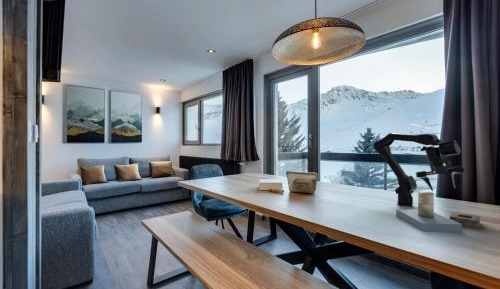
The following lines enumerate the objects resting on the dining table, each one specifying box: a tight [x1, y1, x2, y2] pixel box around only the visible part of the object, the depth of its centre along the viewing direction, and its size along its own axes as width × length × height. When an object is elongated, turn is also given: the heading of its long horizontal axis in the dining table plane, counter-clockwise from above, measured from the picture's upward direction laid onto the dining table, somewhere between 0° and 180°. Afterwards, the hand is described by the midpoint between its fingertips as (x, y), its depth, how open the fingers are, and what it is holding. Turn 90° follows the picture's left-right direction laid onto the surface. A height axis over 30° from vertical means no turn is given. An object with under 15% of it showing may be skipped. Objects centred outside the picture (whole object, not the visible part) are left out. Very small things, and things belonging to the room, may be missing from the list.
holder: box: [449, 211, 481, 230], centre depth 104 cm, size 9×9×3 cm
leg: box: [417, 190, 435, 218], centre depth 104 cm, size 6×6×13 cm
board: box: [395, 208, 463, 233], centre depth 104 cm, size 20×14×3 cm
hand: (443, 189), depth 119 cm, fingers open, 9 cm apart
